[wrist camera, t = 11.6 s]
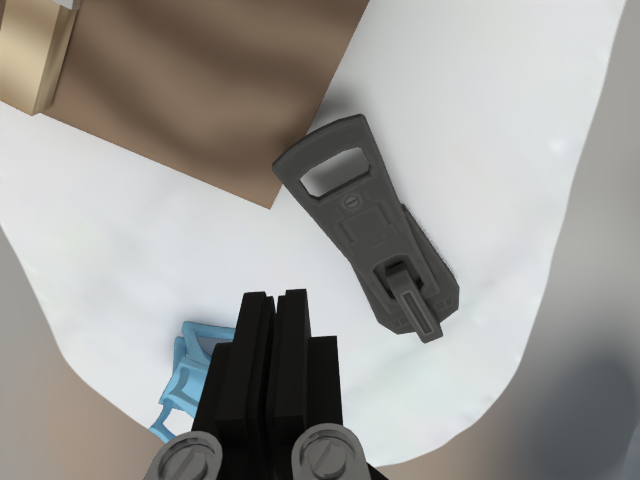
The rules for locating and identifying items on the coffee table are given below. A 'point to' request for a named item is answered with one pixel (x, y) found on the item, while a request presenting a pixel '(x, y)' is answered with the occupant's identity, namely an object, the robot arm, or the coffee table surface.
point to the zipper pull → (374, 231)
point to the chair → (187, 374)
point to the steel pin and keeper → (69, 3)
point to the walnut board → (203, 81)
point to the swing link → (32, 52)
